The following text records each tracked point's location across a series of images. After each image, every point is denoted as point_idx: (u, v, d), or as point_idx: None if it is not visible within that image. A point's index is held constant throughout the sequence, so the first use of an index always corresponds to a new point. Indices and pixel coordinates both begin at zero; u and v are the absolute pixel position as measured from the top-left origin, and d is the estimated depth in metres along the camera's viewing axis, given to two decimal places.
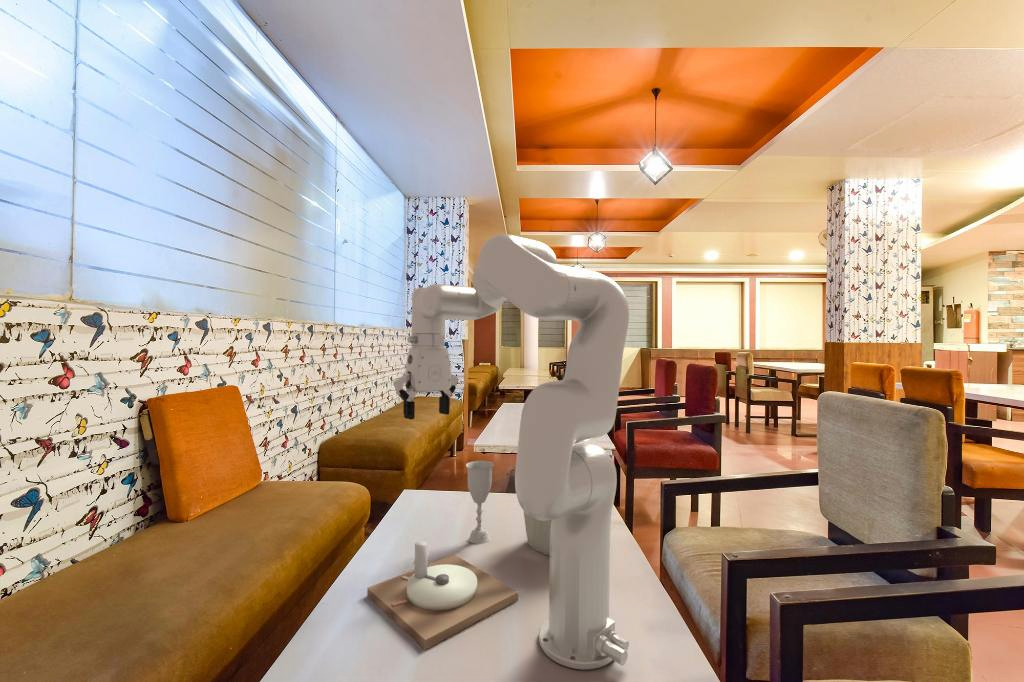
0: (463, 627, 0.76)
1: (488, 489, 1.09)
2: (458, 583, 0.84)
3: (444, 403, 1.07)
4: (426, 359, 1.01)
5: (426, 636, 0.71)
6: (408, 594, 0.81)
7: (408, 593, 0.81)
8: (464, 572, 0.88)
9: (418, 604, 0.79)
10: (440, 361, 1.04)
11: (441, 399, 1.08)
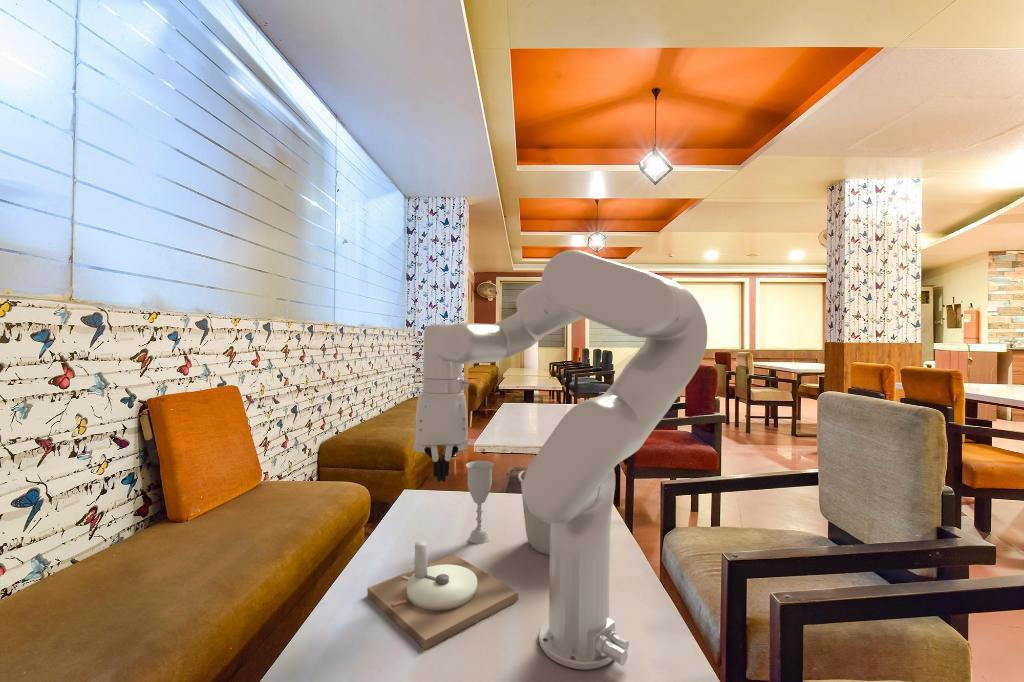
0: (463, 627, 0.76)
1: (488, 489, 1.09)
2: (458, 583, 0.84)
3: None
4: None
5: (426, 636, 0.71)
6: (408, 594, 0.81)
7: (408, 593, 0.81)
8: (464, 572, 0.88)
9: (418, 604, 0.79)
10: None
11: (440, 463, 0.89)
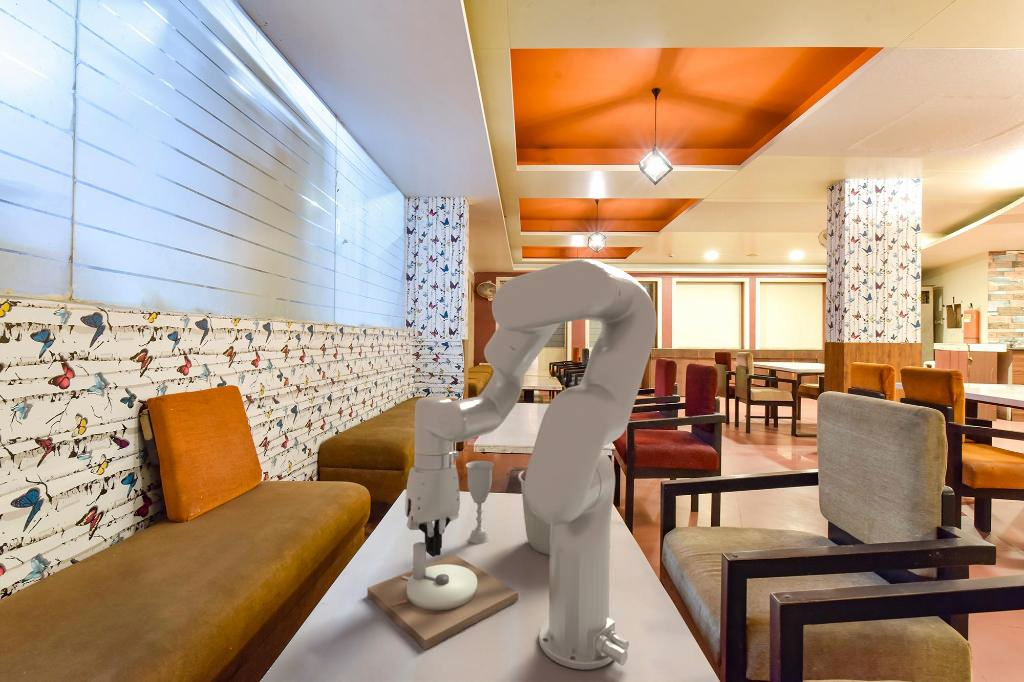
0: (463, 627, 0.76)
1: (488, 489, 1.09)
2: (459, 582, 0.84)
3: None
4: None
5: (426, 636, 0.71)
6: (410, 596, 0.81)
7: (409, 595, 0.81)
8: (462, 571, 0.89)
9: (421, 605, 0.79)
10: None
11: None
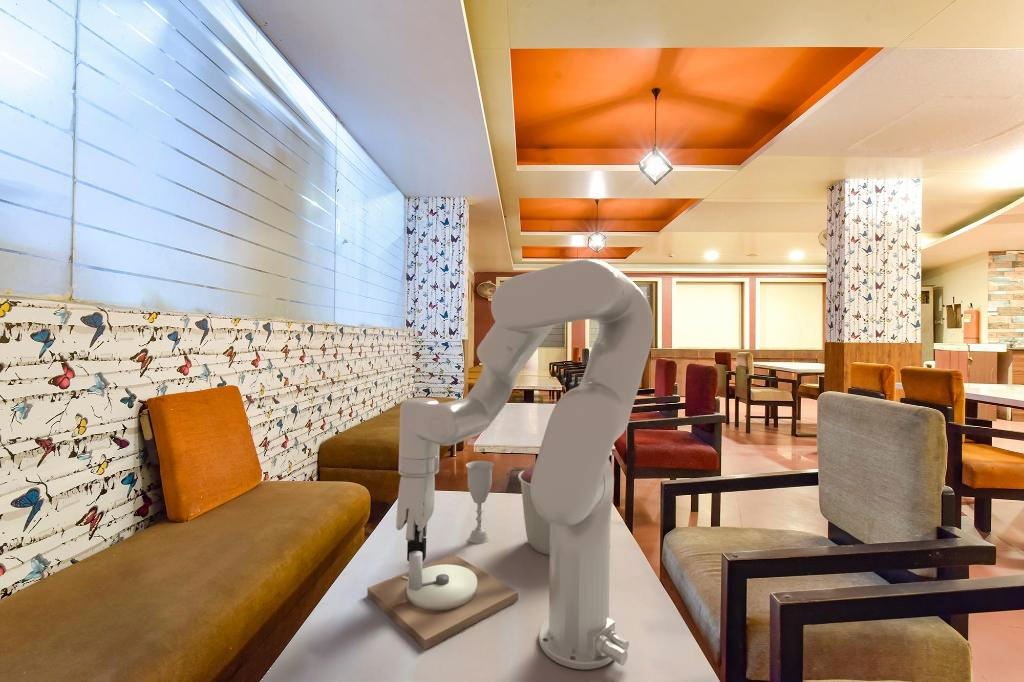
0: (463, 627, 0.76)
1: (488, 489, 1.09)
2: (457, 576, 0.87)
3: None
4: None
5: (426, 636, 0.71)
6: (430, 604, 0.78)
7: (429, 603, 0.78)
8: (446, 567, 0.90)
9: (448, 606, 0.79)
10: None
11: None
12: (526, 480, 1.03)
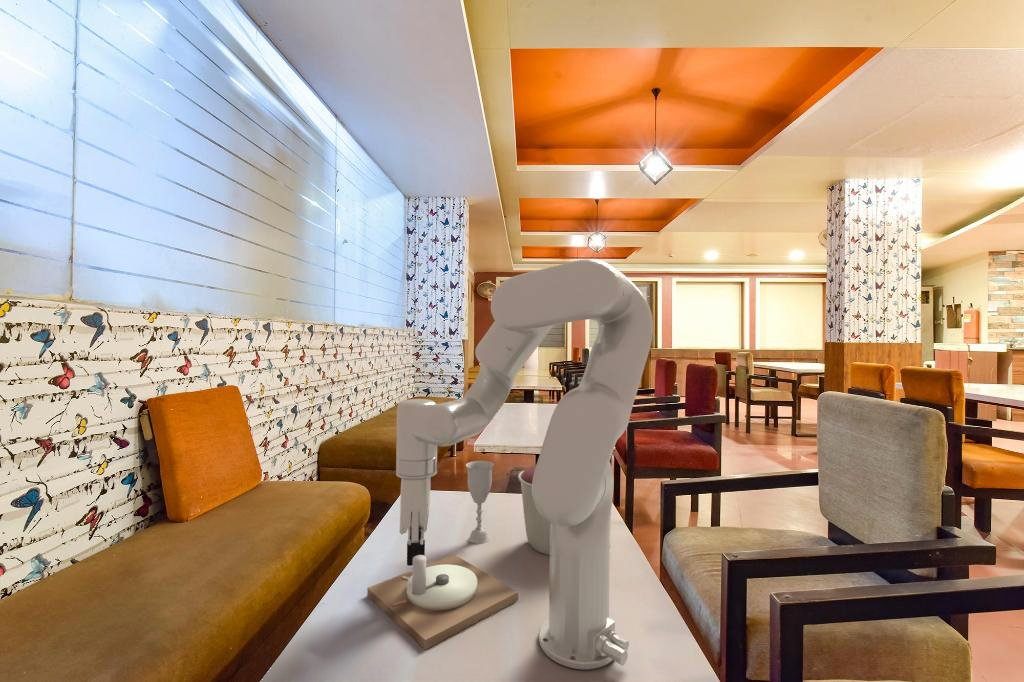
0: (463, 627, 0.76)
1: (488, 489, 1.09)
2: (453, 574, 0.87)
3: None
4: None
5: (426, 636, 0.71)
6: (444, 604, 0.78)
7: (443, 603, 0.78)
8: (436, 568, 0.89)
9: (461, 603, 0.80)
10: None
11: None
12: (526, 480, 1.03)
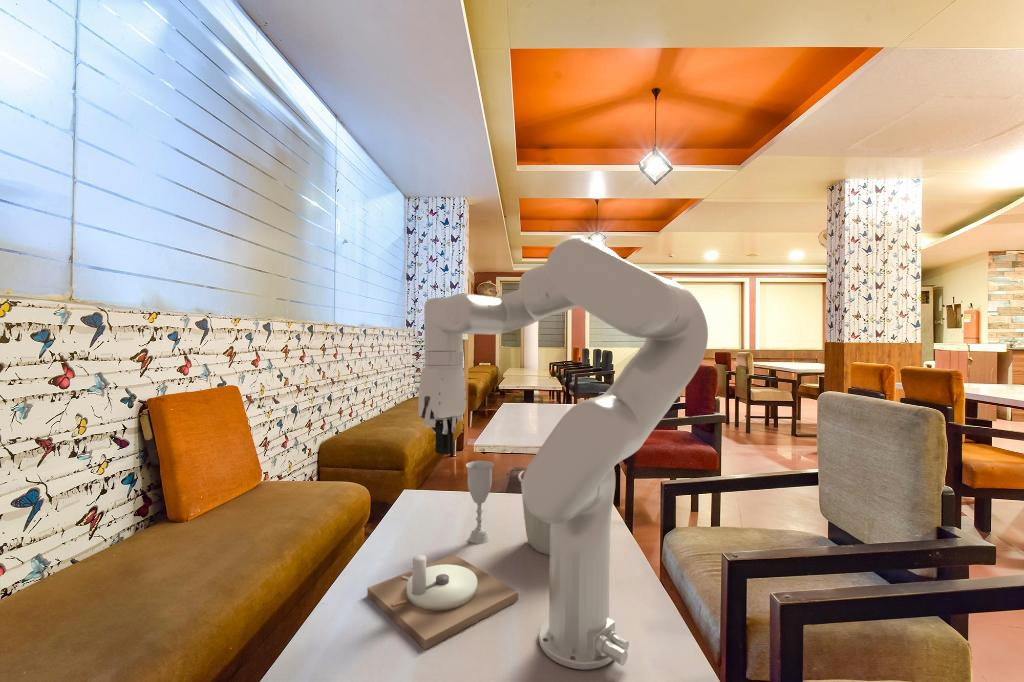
0: (463, 627, 0.76)
1: (488, 489, 1.09)
2: (453, 574, 0.87)
3: None
4: None
5: (426, 636, 0.71)
6: (444, 604, 0.78)
7: (443, 603, 0.78)
8: (436, 568, 0.89)
9: (461, 603, 0.80)
10: None
11: None
12: None
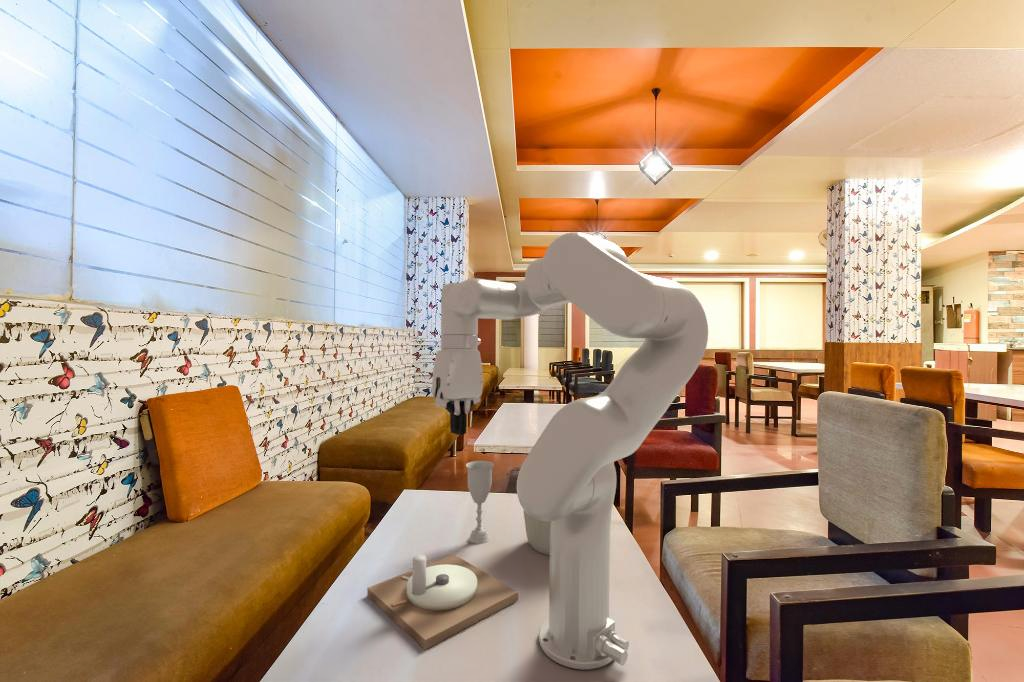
0: (463, 627, 0.76)
1: (488, 489, 1.09)
2: (453, 574, 0.87)
3: None
4: None
5: (426, 636, 0.71)
6: (444, 604, 0.78)
7: (443, 603, 0.78)
8: (436, 568, 0.89)
9: (461, 603, 0.80)
10: None
11: None
12: None
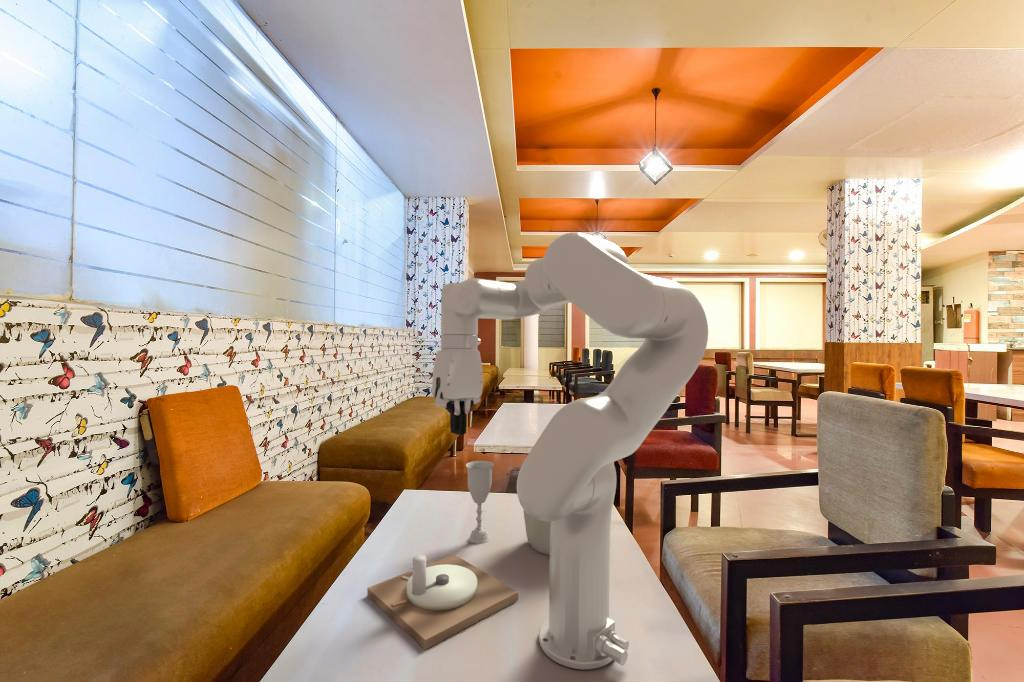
0: (463, 627, 0.76)
1: (488, 489, 1.09)
2: (453, 574, 0.87)
3: None
4: None
5: (426, 636, 0.71)
6: (444, 604, 0.78)
7: (443, 603, 0.78)
8: (436, 568, 0.89)
9: (461, 603, 0.80)
10: None
11: None
12: None
